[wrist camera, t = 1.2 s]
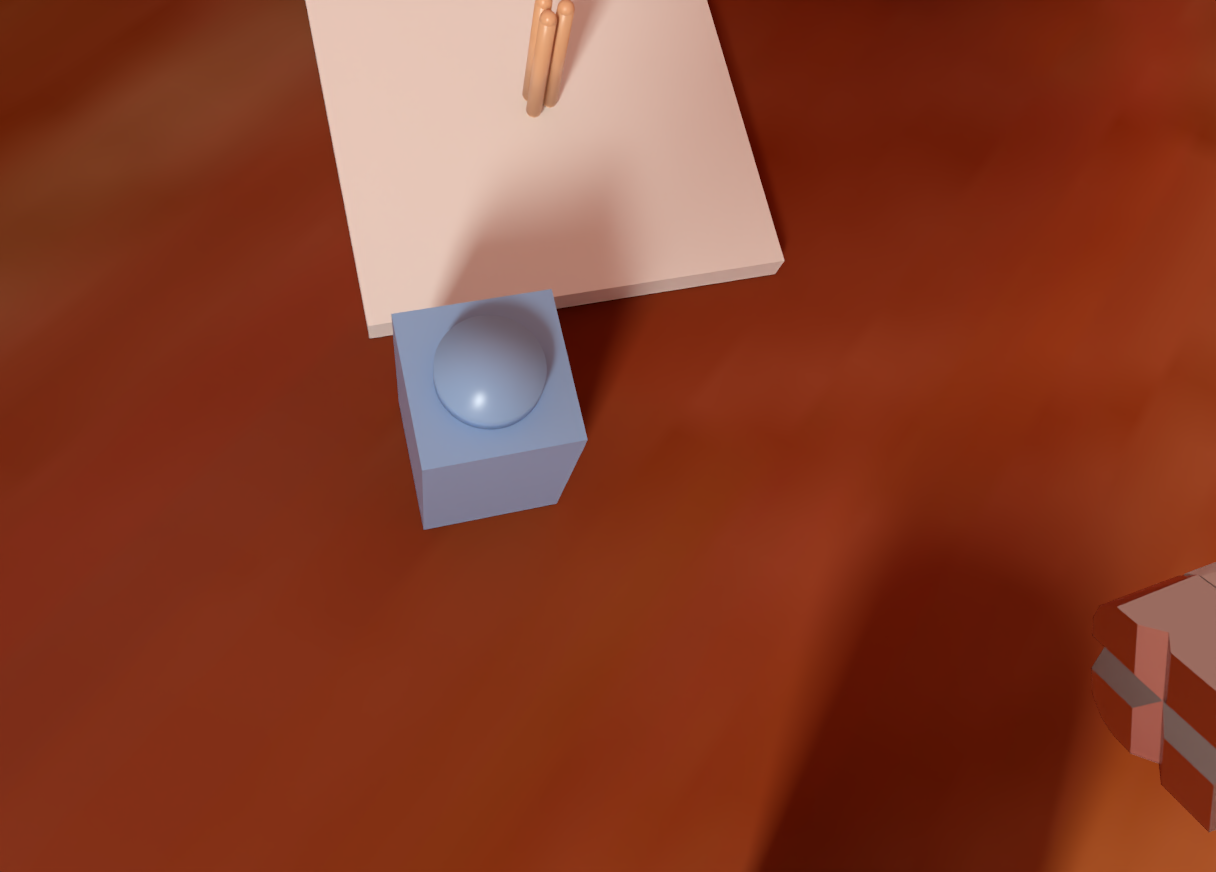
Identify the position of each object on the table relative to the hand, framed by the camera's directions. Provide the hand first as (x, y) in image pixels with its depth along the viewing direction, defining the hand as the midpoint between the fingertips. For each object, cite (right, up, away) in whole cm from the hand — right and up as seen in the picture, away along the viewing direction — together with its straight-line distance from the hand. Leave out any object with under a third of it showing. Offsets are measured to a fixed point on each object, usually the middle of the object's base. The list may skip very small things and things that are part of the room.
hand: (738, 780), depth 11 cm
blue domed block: (-6, +3, +29) cm, 29 cm away
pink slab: (-4, +16, +33) cm, 37 cm away
